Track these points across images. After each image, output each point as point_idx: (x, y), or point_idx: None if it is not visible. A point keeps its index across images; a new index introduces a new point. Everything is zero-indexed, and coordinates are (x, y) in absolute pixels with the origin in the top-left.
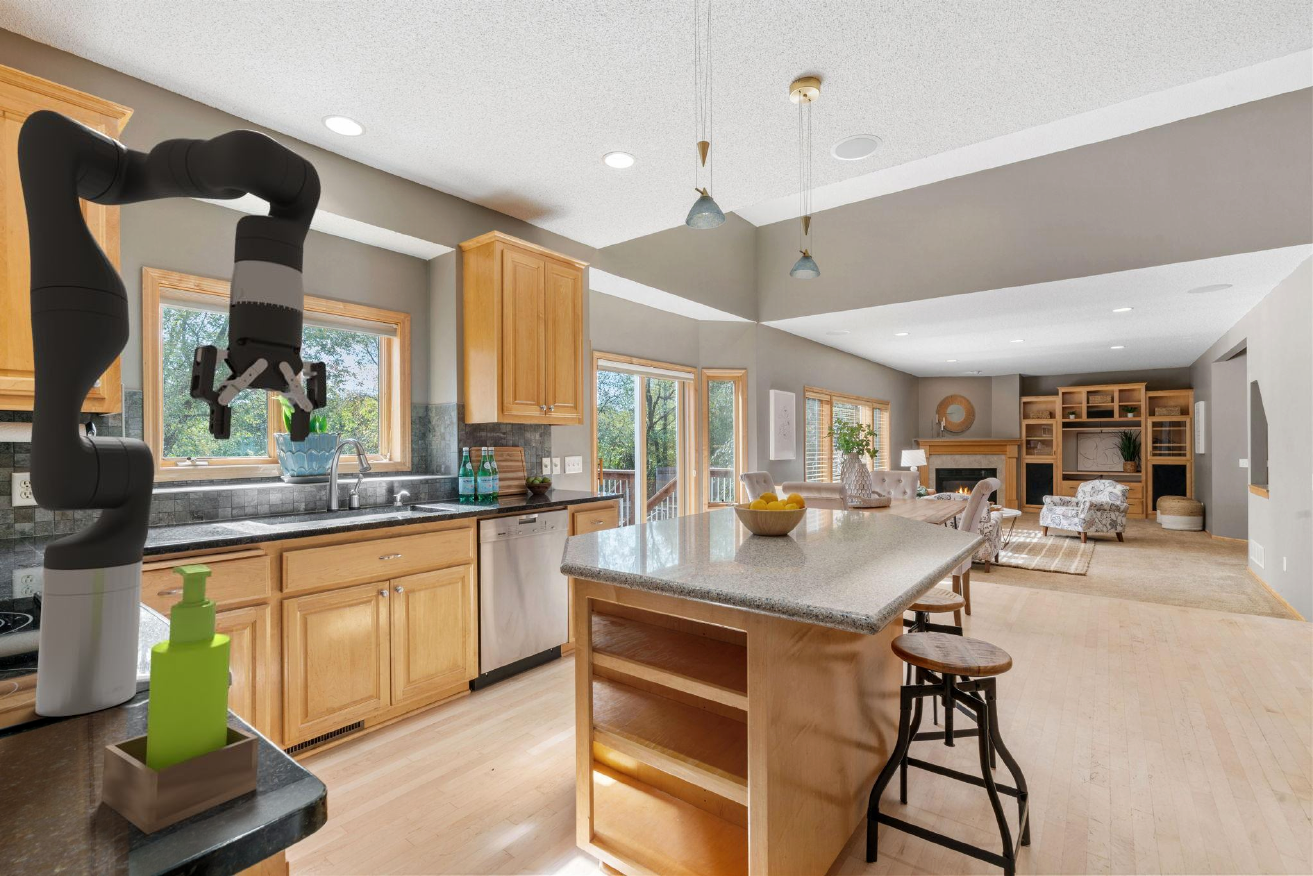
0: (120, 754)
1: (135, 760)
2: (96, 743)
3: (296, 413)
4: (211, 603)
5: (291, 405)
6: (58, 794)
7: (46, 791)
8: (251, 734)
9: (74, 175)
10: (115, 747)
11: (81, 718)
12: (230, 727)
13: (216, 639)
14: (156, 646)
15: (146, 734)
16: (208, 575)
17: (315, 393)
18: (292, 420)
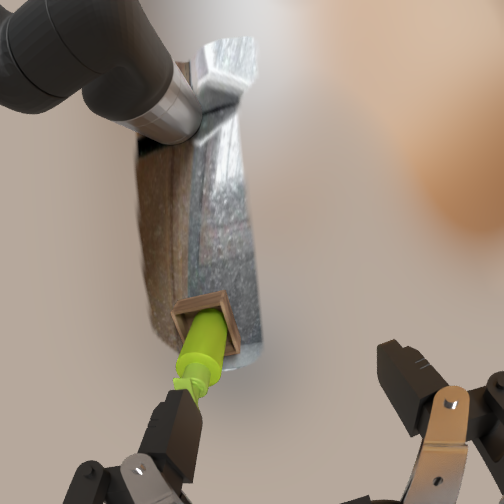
0: (177, 329)
1: (184, 341)
2: (174, 210)
3: (414, 417)
4: (204, 394)
5: (428, 422)
6: (160, 277)
7: (155, 268)
8: (237, 347)
9: None
10: (175, 318)
11: (168, 151)
12: (229, 331)
13: (211, 380)
14: (178, 368)
15: (189, 310)
16: None
17: (486, 454)
18: (406, 386)
